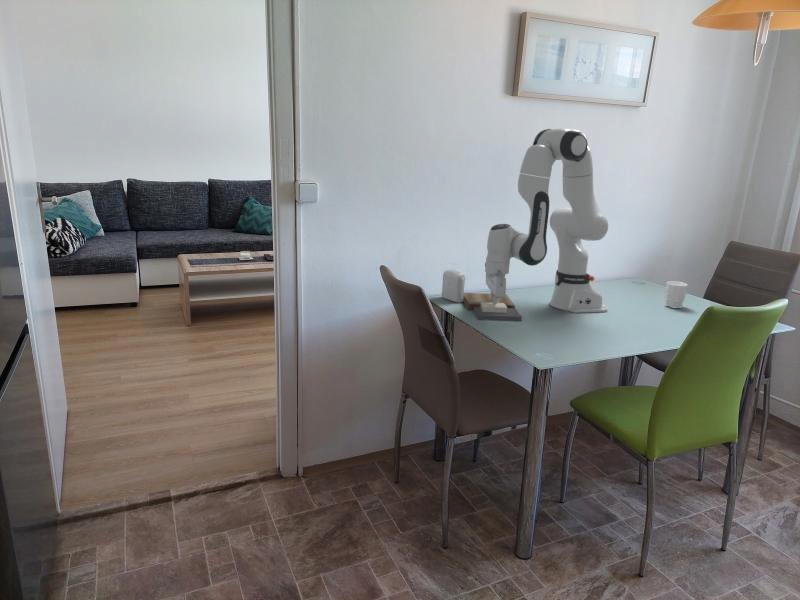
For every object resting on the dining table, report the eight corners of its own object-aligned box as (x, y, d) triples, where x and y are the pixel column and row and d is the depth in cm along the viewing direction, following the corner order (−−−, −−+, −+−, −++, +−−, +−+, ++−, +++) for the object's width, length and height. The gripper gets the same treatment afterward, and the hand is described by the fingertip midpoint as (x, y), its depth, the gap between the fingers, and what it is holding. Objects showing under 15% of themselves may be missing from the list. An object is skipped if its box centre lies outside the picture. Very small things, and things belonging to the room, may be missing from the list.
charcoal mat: (514, 311, 225) (515, 308, 224) (521, 320, 214) (521, 316, 214) (473, 310, 224) (474, 306, 223) (478, 319, 213) (478, 315, 213)
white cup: (673, 303, 246) (677, 280, 244) (687, 308, 239) (692, 285, 236) (658, 304, 244) (662, 281, 241) (672, 309, 237) (676, 286, 234)
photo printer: (440, 297, 240) (441, 268, 237) (447, 296, 243) (449, 267, 239) (456, 303, 232) (459, 273, 229) (464, 302, 235) (467, 272, 231)
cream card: (503, 308, 224) (504, 303, 223) (506, 312, 218) (507, 307, 217) (480, 307, 223) (480, 302, 223) (482, 311, 218) (483, 306, 217)
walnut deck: (505, 300, 240) (506, 294, 240) (514, 311, 225) (515, 305, 224) (462, 298, 239) (463, 292, 239) (468, 310, 224) (468, 304, 223)
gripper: (511, 274, 207) (508, 311, 211) (500, 262, 226) (497, 296, 230) (494, 274, 207) (490, 311, 210) (484, 261, 226) (481, 295, 230)
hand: (494, 303), depth 221 cm, fingers closed
